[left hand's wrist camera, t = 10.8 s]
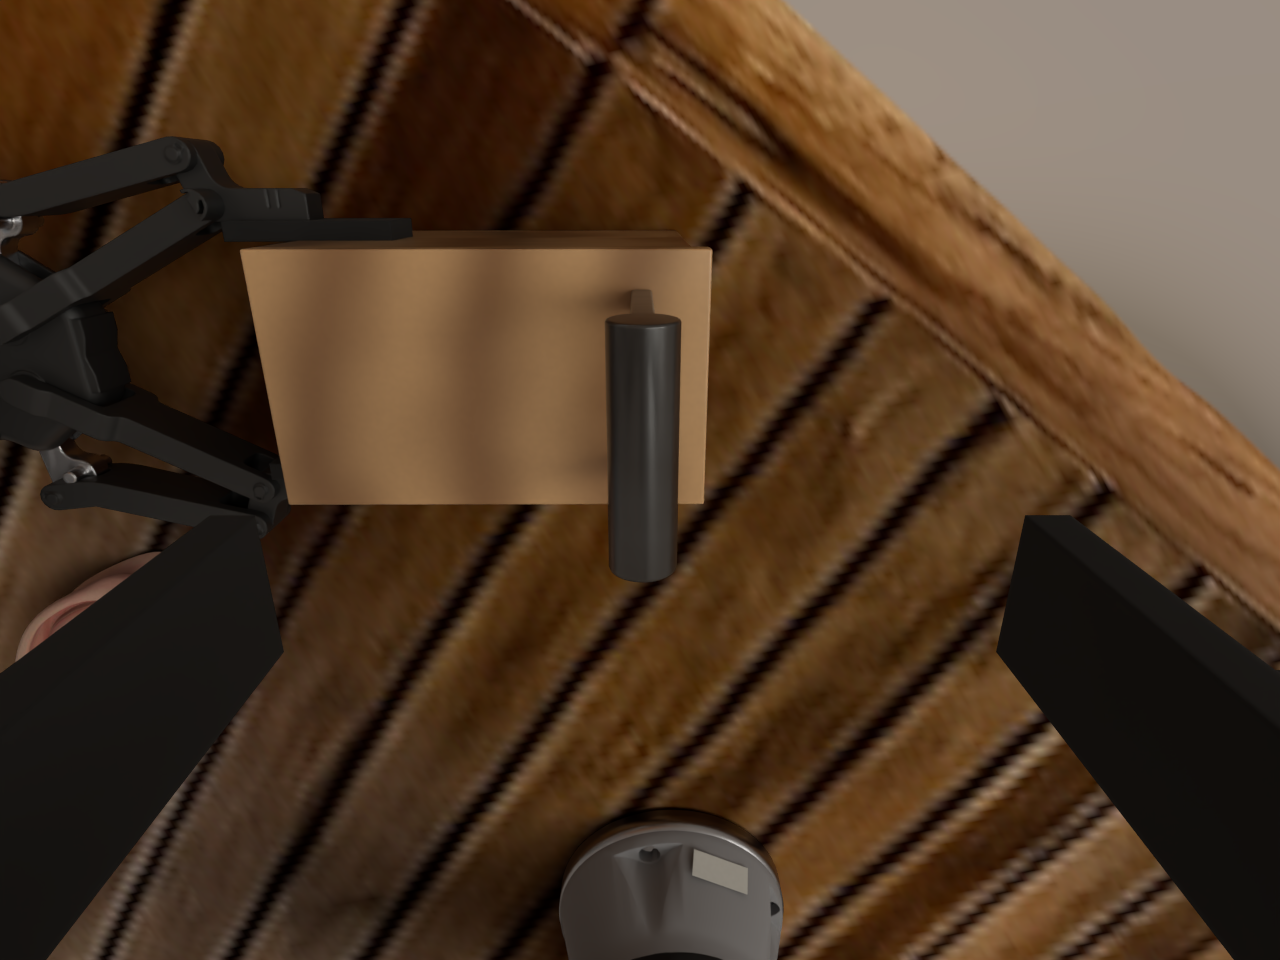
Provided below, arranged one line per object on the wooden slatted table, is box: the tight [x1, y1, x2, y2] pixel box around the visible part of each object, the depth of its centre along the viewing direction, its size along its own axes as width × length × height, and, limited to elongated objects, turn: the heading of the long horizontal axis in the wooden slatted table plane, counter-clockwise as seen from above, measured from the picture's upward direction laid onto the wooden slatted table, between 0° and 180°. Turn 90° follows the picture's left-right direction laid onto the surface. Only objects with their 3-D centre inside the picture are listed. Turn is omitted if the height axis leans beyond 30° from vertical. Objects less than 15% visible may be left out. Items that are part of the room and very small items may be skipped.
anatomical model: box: [15, 552, 161, 662], centre depth 42 cm, size 13×4×12 cm
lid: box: [240, 247, 712, 582], centre depth 23 cm, size 16×9×9 cm, turn 90°
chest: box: [259, 230, 691, 247], centre depth 32 cm, size 15×9×11 cm, turn 90°
